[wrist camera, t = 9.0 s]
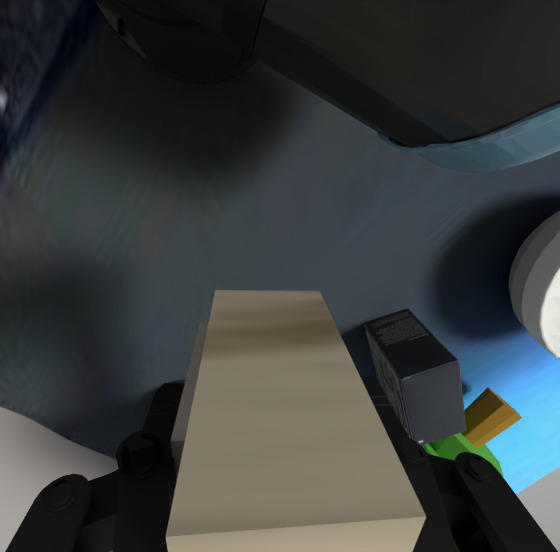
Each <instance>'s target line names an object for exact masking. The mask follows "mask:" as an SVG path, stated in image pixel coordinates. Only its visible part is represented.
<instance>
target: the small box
mask: <svg viewBox="0 0 560 552" xmlns="http://www.w3.org/2000/svg"><path fill="white" fill-rule="evenodd" d="M364 329H365V333H366V337H367V341H368V346H369V349H370V353H371V358H372V362H373V366H374V370H375V373H376V377H377V381H378V383H379V384H380V385H381V386H382V388H383V390H384V392H385V394H386V395H387V398H388V399H389V401H390V403H391V406H392V407H393V408H394V410H395V412H396V414H397V416H398V418H399V420H400V421H401V423H402V425H403V427H404V429H405V431H406V432H407V434H408V436H409V438H410V439H413V440H414V441H416V442H417V443H419V444H420V445H421V446H422V445H425V444H428V443H431V442H434V441H437V440H440V439H443V438H446V437H449V436H452V435H455V434H458V433H461V432H464V431H466V422H465V413H464V403H463V394H462V384H461V373H460V363H459V360H458V359H457V358H456V357H455V356H454V355H453V354H452V353H451V352H450V351H449V350H448V349H447V348H446V347H445V346H444V345H443V344H442V343H441V342H440V341H439V340H438V339H437V338H436V337H435V336H434V335H433V334H432V333H431V332H430V331H429V330H428V329H427V327H426V326H425V325H424V324H423V323H422V322H421V321H420V320H419V319H418V318H417V317H416V316H415V315H414V314H413V313H412V312H411V311H410V310H409V309H406V310H403V311H400V312H397V313H394V314H391V315H387V316H385V317H381V318H379V319H376V320H372V321H369V322H366V323H364Z"/></svg>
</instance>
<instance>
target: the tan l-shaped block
mask: <svg viewBox="0 0 560 552" xmlns="http://www.w3.org/2000/svg"><path fill="white" fill-rule="evenodd" d="M425 519H426V515H425V513H424V510H423V508H422V506H421V504H420V502H419V500H418V498H417V496H416V494H415V491H414V489H413V487H412V485H411V483H410V481H409V479H408V477H407V475H406V472H405V470H404V468H403V466H402V464H401V462H400V460H399V458H398V456H397V453H396V451H395V449H394V447H393V445H392V443H391V441H390V439H389V437H388V434H387V432H386V430H385V428H384V426H383V424H382V422H381V420H380V418H379V415H378V413H377V411H376V409H375V407H374V405H373V403H372V401H371V399H370V396H369V394H368V392H367V390H366V388H365V386H364V384H363V382H362V380H361V377H360V375H359V373H358V371H357V369H356V367H355V365H354V363H353V361H352V358H351V356H350V354H349V352H348V350H347V348H346V346H345V344H344V342H343V339H342V337H341V335H340V333H339V331H338V329H337V327H336V325H335V323H334V320H333V318H332V316H331V314H330V312H329V310H328V308H327V306H326V304H325V301H324V299H323V297H322V295H321V293H320V291H249V290H215V294H214V299H213V304H212V309H211V314H210V319H209V324H208V329H207V334H206V339H205V344H204V349H203V354H202V359H201V364H200V369H199V374H198V379H197V384H196V389H195V394H194V398H193V403H192V408H191V413H190V418H189V423H188V428H187V433H186V438H185V443H184V448H183V453H182V458H181V463H180V468H179V473H178V478H177V483H176V488H175V493H174V498H173V503H172V508H171V513H170V517H169V522H168V527H167V532H166V543H167V549H168V552H412V551H413V549H414V546H415V544H416V541H417V539H418V536H419V534H420V531H421V529H422V526H423V524H424V521H425Z"/></svg>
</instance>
